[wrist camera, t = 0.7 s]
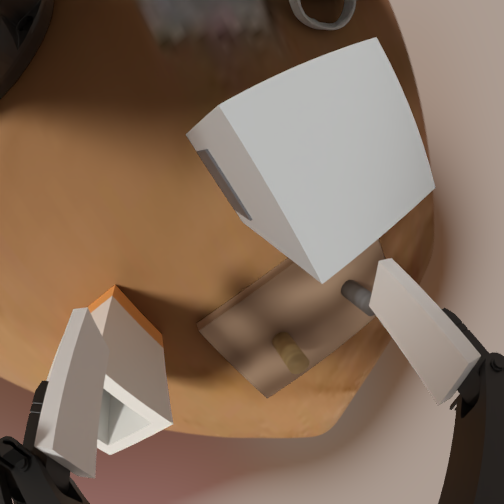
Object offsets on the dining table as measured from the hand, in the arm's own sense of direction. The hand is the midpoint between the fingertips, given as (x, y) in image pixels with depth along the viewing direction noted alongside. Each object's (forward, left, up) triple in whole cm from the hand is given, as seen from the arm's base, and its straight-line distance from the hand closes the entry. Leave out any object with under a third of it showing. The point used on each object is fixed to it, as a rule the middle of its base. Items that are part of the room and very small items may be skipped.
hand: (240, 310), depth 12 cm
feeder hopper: (-3, +7, -11) cm, 14 cm away
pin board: (+12, +4, -11) cm, 17 cm away
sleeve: (+2, -11, -11) cm, 15 cm away
